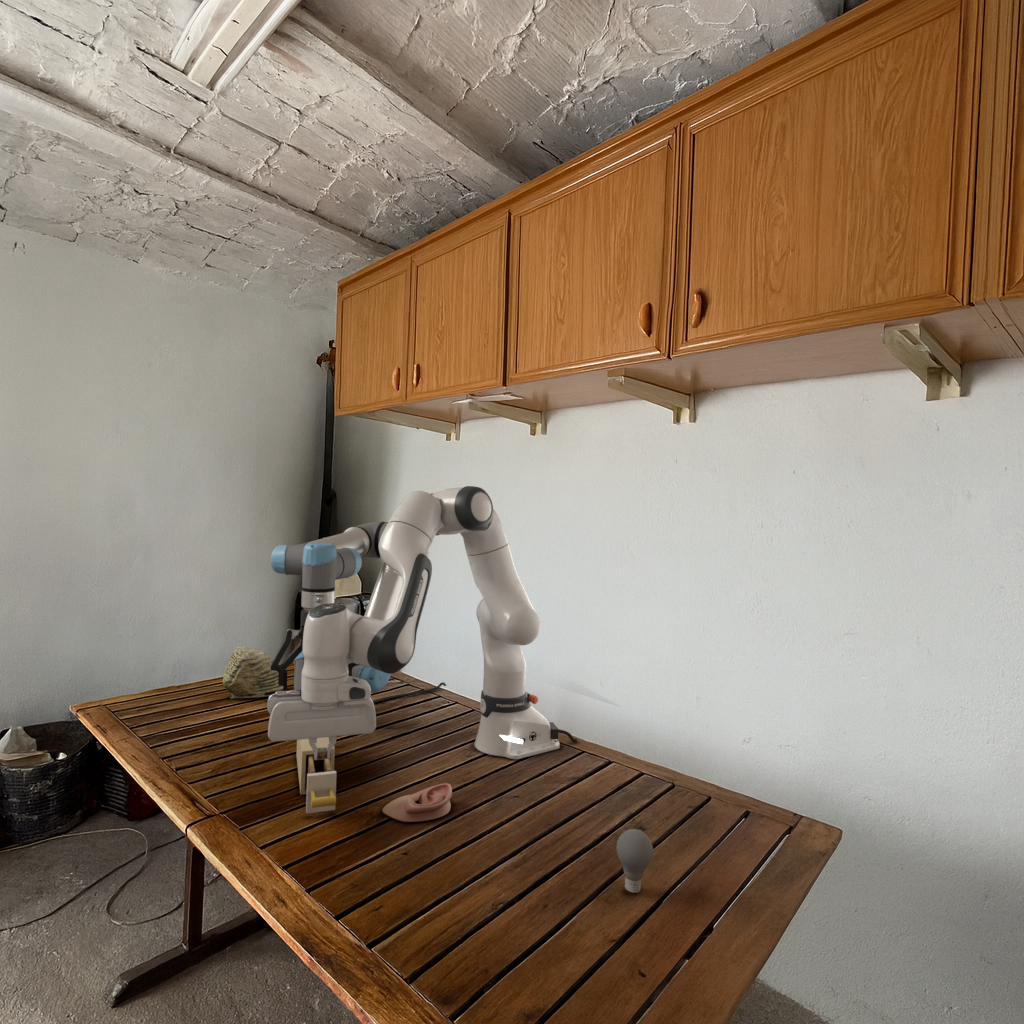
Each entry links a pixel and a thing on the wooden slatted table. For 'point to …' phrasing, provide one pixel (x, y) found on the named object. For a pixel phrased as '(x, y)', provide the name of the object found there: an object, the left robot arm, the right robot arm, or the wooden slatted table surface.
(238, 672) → the fossil
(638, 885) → the light bulb
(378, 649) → the right robot arm
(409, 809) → the anatomical model
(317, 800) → the drawer
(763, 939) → the wooden slatted table surface
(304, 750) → the cabinet
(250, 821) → the wooden slatted table surface
